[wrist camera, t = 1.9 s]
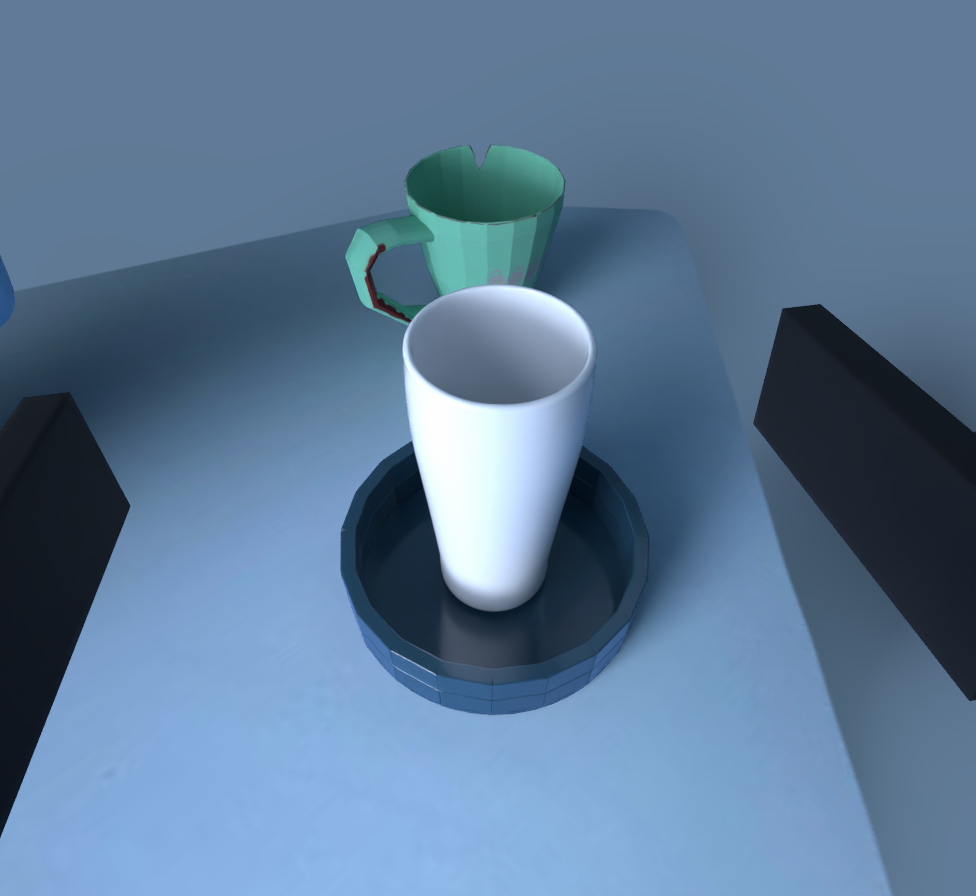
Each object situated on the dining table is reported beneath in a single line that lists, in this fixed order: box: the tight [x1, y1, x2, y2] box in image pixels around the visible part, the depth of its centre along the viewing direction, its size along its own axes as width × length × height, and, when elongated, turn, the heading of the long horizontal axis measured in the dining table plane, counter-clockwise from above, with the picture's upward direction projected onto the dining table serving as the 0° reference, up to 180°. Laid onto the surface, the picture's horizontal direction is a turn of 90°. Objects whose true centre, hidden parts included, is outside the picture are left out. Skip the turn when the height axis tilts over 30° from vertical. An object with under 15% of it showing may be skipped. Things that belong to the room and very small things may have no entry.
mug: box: [346, 145, 565, 326], centre depth 43 cm, size 15×10×10 cm
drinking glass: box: [403, 284, 597, 612], centre depth 28 cm, size 7×7×15 cm
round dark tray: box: [340, 441, 649, 715], centre depth 33 cm, size 14×14×4 cm
